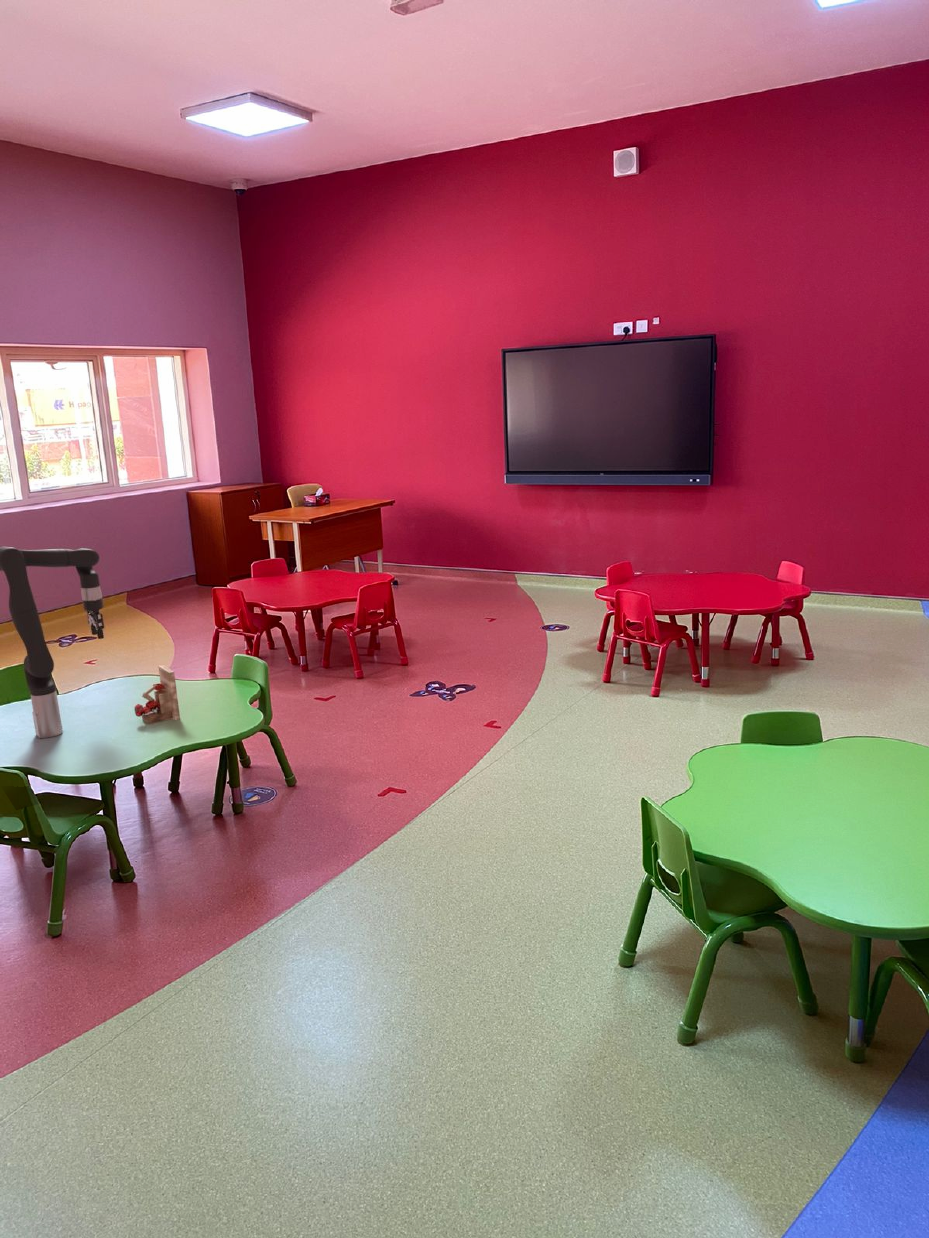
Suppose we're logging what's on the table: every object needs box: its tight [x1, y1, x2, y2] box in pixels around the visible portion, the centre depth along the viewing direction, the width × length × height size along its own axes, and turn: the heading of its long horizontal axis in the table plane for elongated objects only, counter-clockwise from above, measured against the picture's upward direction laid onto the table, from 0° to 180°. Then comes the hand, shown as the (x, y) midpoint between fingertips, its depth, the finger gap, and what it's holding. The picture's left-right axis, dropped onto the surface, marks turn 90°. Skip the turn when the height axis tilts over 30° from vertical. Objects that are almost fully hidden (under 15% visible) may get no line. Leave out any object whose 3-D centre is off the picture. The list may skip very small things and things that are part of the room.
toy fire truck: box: [134, 683, 165, 718], centre depth 368 cm, size 3×14×10 cm, turn 138°
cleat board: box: [141, 664, 181, 725], centre depth 370 cm, size 12×13×20 cm
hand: (97, 636), depth 373 cm, fingers open, 8 cm apart
